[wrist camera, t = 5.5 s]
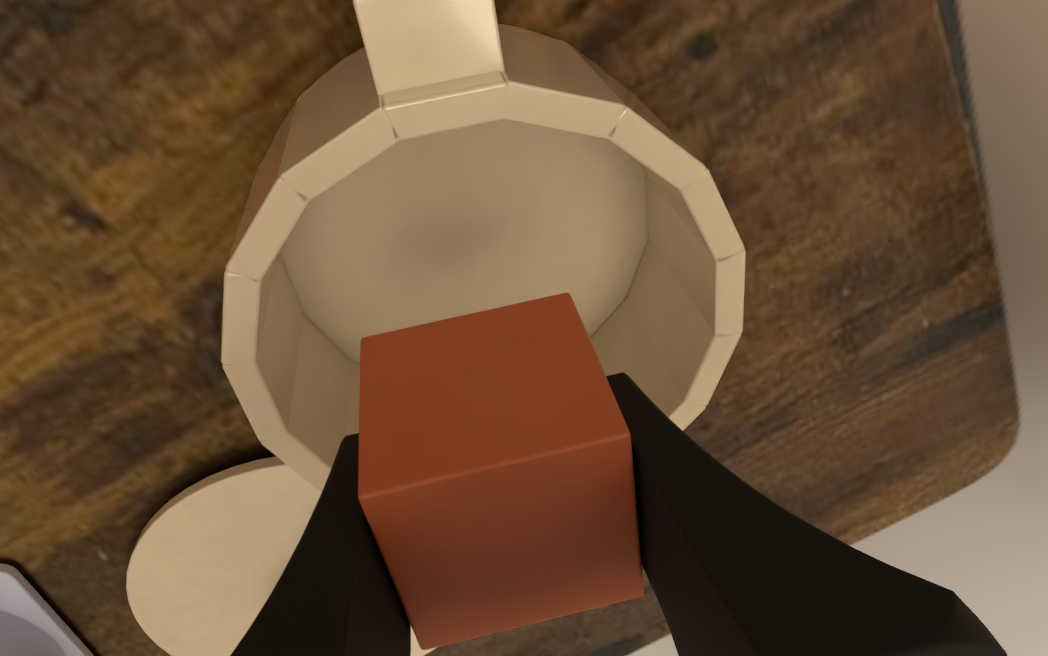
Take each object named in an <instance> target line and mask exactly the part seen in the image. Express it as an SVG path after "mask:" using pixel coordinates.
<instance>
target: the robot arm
mask: <svg viewBox="0 0 1048 656" xmlns="http://www.w3.org/2000/svg"><path fill="white" fill-rule="evenodd" d="M606 378H607V380H608V383H609V385H610V387H611V390H612V392H613V394H614V397H615V399H616V401H617V404H618V406H619V408H620V411H621V413H622V415H623V418H624V420H625V422H626V425H627V427H628V429H629V431H630V434H631V445H632V457H633V469H634V480H635V492H636V504H637V516H638V528H639V540H640V551H641V563H642V566H643V568H644V570H645V572H646V574H647V577H648V579H649V581H650V583H651V586H652V588H653V590H654V592H655V595H656V597H657V599H658V601H659V604H660V606H661V608H662V611H663V613H664V616H665V618H666V621H667V623H668V626H669V628H670V631H671V634H672V637H673V640H674V643H675V646H676V649H677V652H678V655H679V656H1007V654H1006V652H1005V651H1004V649H1003V648H1002V647H1001V646H1000V644H999V643H998V642H997V640H996V639H995V638H994V636H993V635H992V634H991V633H990V631H989V630H988V629H987V628H986V627H985V625H984V624H983V623H982V622H981V621H980V620H979V618H978V617H977V616H976V615H975V614H974V613H973V612H972V611H971V610H970V609H969V608H968V607H967V606H966V605H965V604H964V603H963V602H962V600H961V599H960V598H959V597H958V596H957V595H956V594H955V593H954V592H953V591H951V590H949V589H946V588H944V587H941V586H939V585H937V584H934V583H932V582H929V581H926V580H924V579H922V578H919V577H917V576H915V575H912V574H910V573H907V572H905V571H902V570H900V569H897V568H895V567H893V566H890V565H888V564H886V563H884V562H882V561H880V560H877V559H875V558H873V557H871V556H869V555H867V554H865V553H863V552H861V551H859V550H856V549H854V548H852V547H850V546H849V545H847V544H845V543H843V542H841V541H840V540H838V539H836V538H834V537H832V536H830V535H829V534H827V533H825V532H823V531H821V530H820V529H818V528H816V527H814V526H812V525H811V524H809V523H807V522H805V521H803V520H802V519H800V518H798V517H797V516H795V515H794V514H792V513H790V512H789V511H787V510H786V509H784V508H782V507H781V506H779V505H778V504H776V503H775V502H773V501H772V500H770V499H769V498H767V497H766V496H764V495H763V494H761V493H760V492H758V491H757V490H755V489H754V488H753V487H751V486H750V485H748V484H747V483H746V482H744V481H743V480H742V479H740V478H739V477H738V476H736V475H735V474H734V473H732V472H731V471H730V470H728V469H727V468H726V467H725V466H723V465H722V464H721V463H720V462H718V461H717V460H716V459H715V458H713V457H712V456H711V455H710V454H708V453H707V452H706V451H705V450H704V449H703V448H701V447H700V446H699V445H698V444H697V443H696V442H695V441H693V440H692V439H691V438H690V437H689V436H688V435H687V434H686V433H685V432H683V431H682V430H681V429H680V428H679V427H678V426H677V425H676V424H675V423H674V422H673V421H671V420H670V419H669V418H668V417H667V416H666V415H665V414H664V413H663V412H662V411H661V410H660V409H659V408H658V407H657V406H656V405H655V404H654V403H653V402H652V401H651V400H650V399H649V398H648V397H647V395H646V394H645V393H644V392H643V391H642V390H641V389H640V388H639V387H638V386H637V385H636V383H635V382H634V381H633V380H632V379H631V378H630V376H628V375H627V374H625V373H624V372H622V373H618V374H613V375H609V376H606ZM358 461H359V433H356V434H351V435H347V436H345V437H344V439H343V440H342V441H341V443H340V446H339V449H338V452H337V455H336V458H335V460H334V463H333V466H332V468H331V471H330V473H329V476H328V478H327V481H326V483H325V486H324V488H323V490H322V493H321V495H320V498H319V500H318V502H317V504H316V506H315V509H314V511H313V513H312V515H311V517H310V520H309V522H308V524H307V526H306V528H305V530H304V533H303V535H302V537H301V539H300V541H299V543H298V544H297V546H296V548H295V550H294V552H293V554H292V556H291V558H290V560H289V562H288V564H287V565H286V567H285V569H284V571H283V573H282V575H281V577H280V579H279V580H278V582H277V584H276V585H275V587H274V589H273V591H272V592H271V594H270V596H269V597H268V599H267V601H266V602H265V604H264V606H263V607H262V609H261V610H260V612H259V614H258V615H257V617H256V618H255V620H254V622H253V623H252V625H251V626H250V628H249V629H248V631H247V632H246V634H245V635H244V636H243V638H242V639H241V641H240V642H239V644H238V645H237V647H236V648H235V649H234V651H233V652H232V654H231V655H230V656H411V624H410V622H409V619H408V617H407V615H406V612H405V610H404V607H403V605H402V603H401V600H400V598H399V595H398V593H397V591H396V588H395V586H394V583H393V581H392V579H391V576H390V574H389V571H388V569H387V567H386V564H385V562H384V559H383V557H382V555H381V552H380V550H379V547H378V545H377V543H376V540H375V538H374V535H373V533H372V531H371V528H370V526H369V523H368V521H367V519H366V516H365V514H364V511H363V509H362V507H361V504H360V502H359V499H358ZM0 656H94V655H93V654H92V653H91V652H90V650H89V649H88V648H87V647H86V646H85V645H84V644H83V643H82V642H81V640H80V639H79V638H78V637H77V636H76V635H75V634H74V633H73V631H72V630H71V629H70V628H69V627H68V626H67V625H66V624H65V622H64V621H63V620H62V619H61V618H60V617H59V616H58V615H57V614H56V612H55V611H54V610H53V609H52V608H51V607H50V606H49V605H48V603H47V602H46V601H45V600H44V599H43V598H42V597H41V596H40V594H39V593H38V592H37V591H36V590H35V589H34V588H33V587H32V586H31V584H30V583H29V582H28V581H27V580H26V579H25V578H24V577H23V575H22V574H21V573H20V572H19V571H18V570H17V569H16V568H15V567H13V566H11V565H8V564H3V563H0Z"/></svg>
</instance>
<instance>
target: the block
mask: <svg viewBox="0 0 1048 656" xmlns="http://www.w3.org/2000/svg"><path fill="white" fill-rule="evenodd" d="M358 499H359V502H360V504H361V507H362V509H363V511H364V514H365V516H366V519H367V521H368V523H369V526H370V528H371V531H372V533H373V535H374V538H375V540H376V543H377V545H378V547H379V550H380V552H381V555H382V557H383V559H384V562H385V564H386V567H387V569H388V571H389V574H390V576H391V579H392V581H393V583H394V586H395V588H396V591H397V593H398V595H399V598H400V600H401V603H402V605H403V607H404V610H405V612H406V615H407V617H408V619H409V622H410V624H411V627H412V629H413V631H414V634H415V636H416V639H417V641H418V643H419V646H420V648H421V649H422V650H427V649H432V648H436V647H440V646H444V645H448V644H452V643H456V642H460V641H464V640H468V639H472V638H476V637H480V636H484V635H488V634H492V633H496V632H500V631H504V630H508V629H512V628H516V627H520V626H524V625H528V624H532V623H537V622H541V621H545V620H549V619H553V618H557V617H561V616H565V615H569V614H573V613H577V612H581V611H585V610H589V609H593V608H597V607H601V606H605V605H609V604H613V603H617V602H621V601H625V600H629V599H633V598H637V597H641V596H643V594H644V587H643V575H642V563H641V551H640V540H639V528H638V516H637V504H636V492H635V480H634V469H633V457H632V445H631V434H630V431H629V429H628V427H627V425H626V422H625V420H624V418H623V415H622V413H621V411H620V408H619V406H618V404H617V401H616V399H615V397H614V394H613V392H612V390H611V387H610V385H609V383H608V380H607V378H606V376H605V373H604V371H603V369H602V366H601V364H600V362H599V359H598V357H597V355H596V353H595V350H594V348H593V346H592V343H591V341H590V339H589V336H588V334H587V332H586V329H585V327H584V325H583V322H582V320H581V318H580V315H579V313H578V311H577V308H576V306H575V304H574V301H573V299H572V297H571V295H570V293H561V294H557V295H552V296H548V297H543V298H539V299H534V300H530V301H525V302H521V303H516V304H512V305H507V306H503V307H498V308H494V309H489V310H485V311H480V312H476V313H471V314H467V315H462V316H458V317H453V318H449V319H444V320H440V321H435V322H431V323H426V324H422V325H417V326H413V327H408V328H404V329H399V330H395V331H390V332H385V333H381V334H376V335H372V336H367V337H363V338H362V339H361V342H360V400H359V461H358Z"/></svg>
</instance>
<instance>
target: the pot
mask: <svg viewBox="0 0 1048 656" xmlns="http://www.w3.org/2000/svg"><path fill="white" fill-rule="evenodd" d="M352 1H353V5H354V9H355V13H356V16H357V20H358V24H359V28H360V32H361V35H362V39H363V43H364V47H363V48H361V49H359V50H358V51H356V52H354V53H353V54H351V55H349V56H348V57H346V58H345V59H343V60H341V61H340V62H338V63H337V64H336V65H334V66H333V67H332V68H331V69H330V70H328V71H327V72H326V73H325V74H324V75H322V76H321V77H320V78H319V79H317V80H316V81H315V82H314V83H313V84H312V85H311V86H310V88H308V89H307V90H305V91H304V92H303V93H301V95H300V97H299V98H297V100H296V102H295V104H294V105H293V107H292V109H291V110H290V112H289V113H288V115H287V116H286V118H285V119H284V121H283V122H282V124H281V125H280V127H279V128H278V131H277V133H276V135H275V137H274V139H273V141H272V143H271V145H270V148H269V149H268V151H267V153H266V155H265V157H264V158H263V160H262V162H261V164H260V165H259V167H258V169H257V171H256V174H255V177H254V180H253V184H252V187H251V190H250V193H249V196H248V199H247V202H246V205H245V208H244V211H243V215H242V218H241V221H240V224H239V227H238V230H237V233H236V236H235V239H234V242H233V245H232V249H231V252H230V255H229V258H228V261H227V264H226V268H225V271H224V284H223V312H222V341H221V362H222V367H223V369H224V371H225V373H226V375H227V377H228V379H229V381H230V383H231V385H232V387H233V389H234V391H235V393H236V395H237V397H238V399H239V401H240V403H241V405H242V407H243V409H244V411H245V414H246V416H247V418H248V420H249V422H250V424H251V426H252V428H253V430H254V432H255V434H256V436H257V438H258V440H259V441H261V444H262V445H263V446H264V447H266V448H267V449H268V450H269V451H271V452H272V453H273V454H274V455H276V456H277V457H278V458H279V459H280V460H282V461H283V462H284V463H285V464H287V465H288V466H289V467H290V468H292V469H293V470H294V471H295V472H297V473H298V474H299V475H300V476H302V477H303V478H304V479H305V480H306V481H308V482H309V483H310V484H311V485H313V486H314V487H315V488H316V489H318V490H319V491H320V492H321V493H322V490H323V488H324V486H325V483H326V481H327V478H328V476H329V473H330V471H331V468H332V466H333V463H334V460H335V458H336V455H337V452H338V449H339V446H340V443H341V441H342V440H343V439H344V437H345V436H347V435H351V434H356V433H359V400H360V342H361V339H362V338H363V337H367V336H372V335H376V334H381V333H385V332H390V331H395V330H399V329H404V328H408V327H413V326H417V325H422V324H426V323H431V322H435V321H440V320H444V319H449V318H453V317H458V316H462V315H467V314H471V313H476V312H480V311H485V310H489V309H494V308H498V307H503V306H507V305H512V304H516V303H521V302H525V301H530V300H534V299H539V298H543V297H548V296H552V295H557V294H561V293H570V295H571V297H572V299H573V301H574V304H575V306H576V308H577V311H578V313H579V315H580V318H581V320H582V322H583V325H584V327H585V329H586V332H587V334H588V336H589V339H590V341H591V343H592V346H593V348H594V350H595V353H596V355H597V357H598V359H599V362H600V364H601V366H602V369H603V371H604V373H605V376H609V375H613V374H618V373H622V372H624V373H625V374H627V375H628V376H630V378H631V379H632V380H633V381H634V382H635V383H636V385H637V386H638V387H639V388H640V389H641V390H642V391H643V392H644V393H645V394H646V395H647V397H648V398H649V399H650V400H651V401H652V402H653V403H654V404H655V405H656V406H657V407H658V408H659V409H660V410H661V411H662V412H663V413H664V414H665V415H666V416H667V417H668V418H669V419H670V420H671V421H673V422H674V423H675V424H676V425H677V426H678V427H679V428H680V429H681V430H682V431H683V430H684V429H685V428H686V427H687V426H688V425H689V424H690V423H691V422H692V421H693V420H694V419H695V418H696V417H697V416H698V415H699V414H700V413H701V412H702V411H703V410H704V409H705V408H706V407H705V406H707V405H708V403H709V401H710V399H711V397H712V395H713V392H714V390H715V388H716V386H717V384H718V382H719V380H720V378H721V376H722V374H723V372H724V369H725V367H726V365H727V363H728V361H729V359H730V357H731V355H732V353H733V351H734V349H735V347H736V344H737V342H738V340H739V338H740V336H741V333H742V332H743V309H744V283H745V257H746V251H745V248H744V244H743V242H742V240H741V238H740V236H739V234H738V231H737V229H736V227H735V225H734V223H733V221H732V219H731V216H730V214H729V212H728V210H727V208H726V206H725V204H724V202H723V199H722V197H721V195H720V193H719V191H718V189H717V187H716V184H715V182H714V180H713V178H712V176H711V174H710V172H709V169H708V168H707V167H706V166H705V165H704V164H703V163H702V162H701V161H700V160H699V159H698V158H697V157H696V156H695V155H694V154H693V153H692V152H691V151H690V150H689V149H688V148H687V147H686V146H685V145H684V144H683V143H682V142H681V141H680V140H679V139H678V138H677V137H676V136H675V135H674V134H673V133H672V132H671V131H670V130H669V129H668V128H667V127H666V126H665V125H664V124H663V123H662V122H661V121H660V120H659V119H658V118H657V117H656V116H655V115H654V114H653V113H652V112H651V111H650V110H649V109H648V108H647V107H646V106H645V105H644V104H643V103H642V102H641V101H640V100H639V99H638V98H637V97H636V96H635V95H634V94H633V93H632V92H631V91H630V90H628V89H627V88H626V87H624V86H623V85H622V84H621V83H619V82H618V81H617V80H615V79H614V78H613V77H612V76H610V75H609V74H608V73H607V72H605V71H604V70H603V69H602V68H601V67H600V66H599V65H598V64H597V63H595V62H594V61H592V60H591V59H589V58H588V57H586V56H584V55H583V54H582V53H581V52H579V51H578V50H577V49H575V48H574V47H573V46H571V45H570V44H567V43H566V42H565V41H562V40H557V39H553V38H551V37H549V36H547V35H544V34H540V33H537V32H534V31H531V30H527V29H524V28H521V27H517V26H511V25H504V24H498V21H497V15H496V9H495V2H494V0H352Z"/></svg>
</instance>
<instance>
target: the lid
mask: <svg viewBox="0 0 1048 656" xmlns="http://www.w3.org/2000/svg"><path fill="white" fill-rule="evenodd" d="M320 495H321V492H320V491H319V490H318V489H316V488H315V487H314V486H313V485H311V484H310V483H309V482H308V481H306V480H305V479H304V478H303V477H302V476H300V475H299V474H298V473H297V472H295V471H294V470H293V469H292V468H290V467H289V466H288V465H287V464H285V463H284V462H283V461H282V460H280V459H279V458H278V457H277V456H275V457H270V458H264V459H259V460H255V461H251V462H248V463H244V464H240V465H237V466H233V467H230V468H228V469H225V470H223V471H220V472H218V473H215V474H213V475H210V476H208V477H206V478H204V479H202V480H201V481H199V482H197V483H195V484H193V485H191V486H189V487H188V488H186V489H185V490H183V491H182V492H181V493H179V494H178V495H176V496H175V497H173V498H172V499H171V500H169V501H168V502H167V503H166V504H165V505H164V506H163V507H162V508H161V509H160V510H159V511H158V512H157V513H155V514H154V516H153V517H152V518H151V519H150V521H149V522H148V523H147V525H146V526H145V527H144V528H143V530H142V532H141V534H140V535H139V537H138V539H137V541H136V543H135V545H134V548H133V551H132V554H131V557H130V561H129V565H128V568H127V575H126V590H127V596H128V602H129V605H130V607H131V610H132V612H133V615H134V617H135V619H136V620H137V622H138V623H139V625H140V626H141V628H142V629H143V631H144V632H145V633H146V634H147V635H148V636H149V637H150V638H151V639H152V641H153V642H154V643H155V644H157V645H158V646H159V647H160V648H162V649H163V650H164V651H165V652H167V653H168V654H169V655H171V656H230V655H231V654H232V652H233V651H234V649H235V648H236V647H237V645H238V644H239V642H240V641H241V639H242V638H243V636H244V635H245V634H246V632H247V631H248V629H249V628H250V626H251V625H252V623H253V622H254V620H255V618H256V617H257V615H258V614H259V612H260V610H261V609H262V607H263V606H264V604H265V602H266V601H267V599H268V597H269V596H270V594H271V592H272V591H273V589H274V587H275V585H276V584H277V582H278V580H279V579H280V577H281V575H282V573H283V571H284V569H285V567H286V565H287V564H288V562H289V560H290V558H291V556H292V554H293V552H294V550H295V548H296V546H297V544H298V543H299V541H300V539H301V537H302V535H303V533H304V530H305V528H306V526H307V524H308V522H309V520H310V517H311V515H312V513H313V511H314V509H315V506H316V504H317V502H318V500H319V498H320ZM436 648H437V647H436ZM434 649H435V648H432V649H427V650H422V649H421V648H420V646H419V643H418V641H417V639H416V636H415V634H414V631H413V629H412V627H411V656H424V655H426V654H427V653H429V652H431V651H433V650H434Z"/></svg>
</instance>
